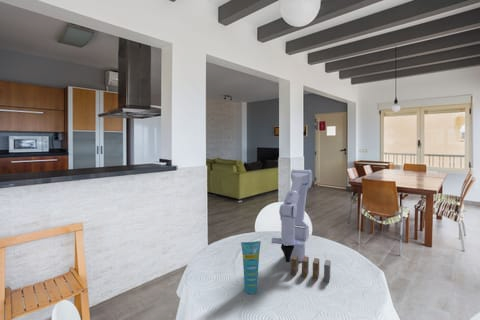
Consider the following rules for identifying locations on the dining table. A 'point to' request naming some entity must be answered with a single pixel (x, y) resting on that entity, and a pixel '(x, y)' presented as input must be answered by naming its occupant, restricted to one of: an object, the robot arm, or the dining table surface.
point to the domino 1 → (294, 264)
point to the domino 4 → (327, 270)
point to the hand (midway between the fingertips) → (287, 261)
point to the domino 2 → (305, 266)
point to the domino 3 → (315, 268)
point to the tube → (250, 265)
